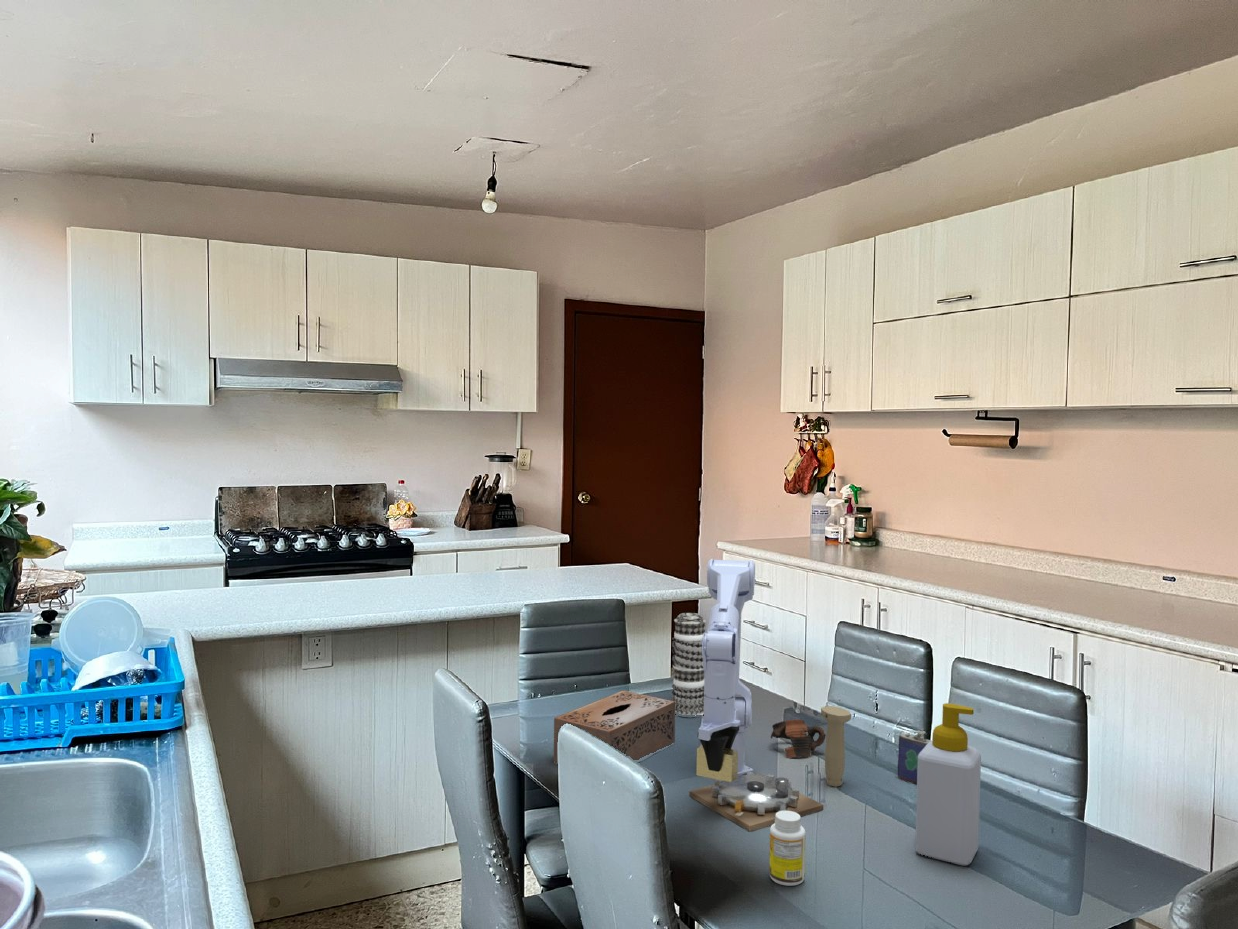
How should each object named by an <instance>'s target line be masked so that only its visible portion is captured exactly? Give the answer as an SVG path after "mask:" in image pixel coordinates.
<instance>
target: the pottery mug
mask: <svg viewBox="0 0 1238 929" xmlns="http://www.w3.org/2000/svg"><path fill="white" fill-rule="evenodd" d="M771 728H772V729H773V730H772V731H771V734H770V739H771V740H772V739H773V738H776V739H784V740H785V739H786V740H790V742H791V743H792V745H791V746H788V747H785V748H784V752H785V755H786V758H787V759H793V758H799V757H800V758H809V757H811V756H812V753H811V752H814V751H815V750H816V749H817V748H818V747H820V746H821V745H823V743H824V742H825V741H826V736H827V734H826V733H825V730H824V729H823V728H822V727H821V726H815V725H814V726H808V725H806V723H805V720H803V719H790V720H784V721H779V722H776V723H774V724H772V726H771ZM816 734H818V738H817V739H816V740H815V739H814V737H815V735H816Z"/></svg>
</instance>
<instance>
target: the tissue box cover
mask: <svg viewBox="0 0 1238 929" xmlns="http://www.w3.org/2000/svg"><path fill="white" fill-rule="evenodd" d="M566 723H568V724H571V725H573V726H576V727H578V728H580V729H583V730H585V731H586V732H589V733H590V734H592V735H593V736H596V737H597V738H599V739H601V740H602V741H604V742H605V743H608V744H609V745H610V746H613V747H614V748H615V749H618V750H619V751H621V752H622V753H624V754H626V756H630V757H631V758H632V759H633V760H639V759H640V758H642V757H644V756H646V755H649V754H650V753H654V752H656V751H657V750H659V749H662V748H664V747H666V746H669V745H671V744H672V743H674V742H676V740H675V739H676V715H675V701H672V700H669V699H665V698H660V697H657V696H651V695H646V694H642V693H637V692H632V691H628V690H620V691H618V692H616V693H612V694H610V695H607V696H606V697H603V698H600V699H598V700H596V701H593V702H590V703H588V704H585V705H583V706H581V707H578V708H576V709H573V710H570V711H568V712H566V713H564V714H561V715H558V716H556V717H554V718H553V763H554V762H555V763H554V765H555V764H556V763H557V742H558V732H559V729H560V728H561V726H563V725H564V724H566ZM556 765H557V764H556Z"/></svg>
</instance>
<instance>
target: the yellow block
mask: <svg viewBox="0 0 1238 929" xmlns="http://www.w3.org/2000/svg"><path fill="white" fill-rule="evenodd" d="M696 776H699V777H704V778H709V779H713V780H716V779H718V780H722V781H727V782H733V781H734V780H735V779H736V778H737V777H738V750H733V749H727V748H724V752H723V759H722V766H721V769H720V771H719V772H717V771H712V770H709V769H708V765H707V760H706V756H705V752H704V749H703V746H702V745H701V746H700V745H699V746H698V747H697V748H696Z"/></svg>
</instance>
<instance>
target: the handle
mask: <svg viewBox="0 0 1238 929" xmlns="http://www.w3.org/2000/svg"><path fill="white" fill-rule="evenodd" d="M820 715H821V716H822V717H823V719H824V720H825V721H826V722H827V723H826V736H825V749H824V750H825V751H824V770H825V771H824V772H825V779H826V784H827V785H828V786H831V787H836V788H837V787H842V785H843V781H844V780H843V777H844V774H845V773H844V772H845V764H846V763H845V762H846V760H845V759H846V756H845V755H846V752H845V750H846V749H845V724H846V723H848V722H850V721H851V719H852V713H851V712H850V711H849V710H847V709H846V708H842V707H839V706H835V705H834V706H833V705H829V706H828V705H827V706H822V707H821V708H820Z"/></svg>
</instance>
